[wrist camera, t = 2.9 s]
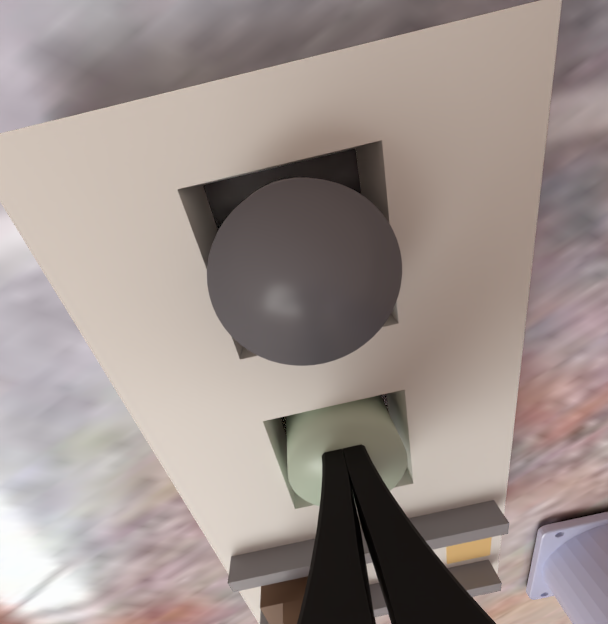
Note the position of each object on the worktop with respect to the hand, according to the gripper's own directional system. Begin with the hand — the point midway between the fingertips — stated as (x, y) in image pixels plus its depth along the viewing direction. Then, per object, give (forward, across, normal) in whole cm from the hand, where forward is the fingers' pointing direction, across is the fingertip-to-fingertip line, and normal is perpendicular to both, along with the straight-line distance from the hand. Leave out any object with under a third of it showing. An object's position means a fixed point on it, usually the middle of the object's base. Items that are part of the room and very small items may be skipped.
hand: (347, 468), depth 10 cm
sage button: (+2, 0, 0) cm, 2 cm away
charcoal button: (+1, 0, -7) cm, 7 cm away
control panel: (+3, 0, 0) cm, 3 cm away
